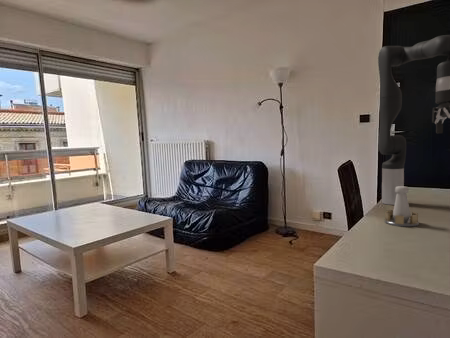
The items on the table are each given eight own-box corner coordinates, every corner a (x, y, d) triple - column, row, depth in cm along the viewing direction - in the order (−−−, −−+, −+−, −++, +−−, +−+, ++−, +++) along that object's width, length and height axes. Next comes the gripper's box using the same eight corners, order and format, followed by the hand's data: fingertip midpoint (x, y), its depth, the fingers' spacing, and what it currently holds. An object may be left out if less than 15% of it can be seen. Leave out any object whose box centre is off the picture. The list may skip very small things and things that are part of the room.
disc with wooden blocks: (387, 218, 120) (387, 208, 120) (419, 221, 113) (419, 211, 113) (382, 224, 111) (382, 214, 111) (417, 228, 105) (417, 217, 104)
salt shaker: (412, 220, 112) (412, 186, 111) (408, 223, 108) (409, 188, 107) (394, 218, 116) (395, 185, 115) (390, 221, 112) (391, 186, 111)
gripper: (425, 93, 121) (425, 134, 122) (450, 86, 106) (449, 132, 108) (445, 92, 120) (444, 133, 122) (472, 85, 106) (471, 131, 107)
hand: (446, 133), depth 115 cm, fingers open, 8 cm apart
